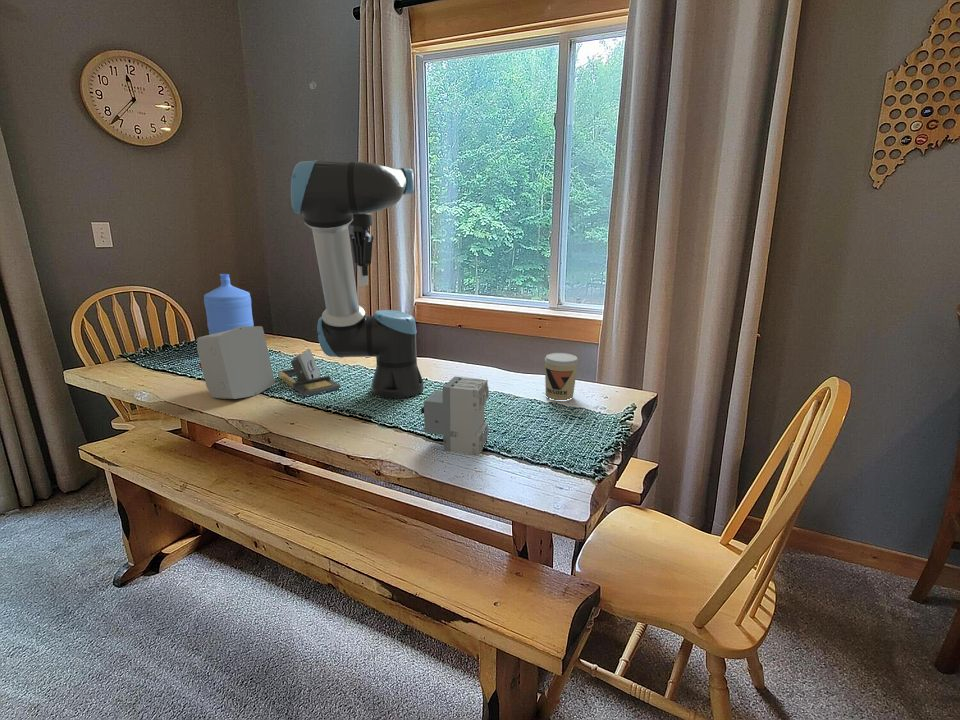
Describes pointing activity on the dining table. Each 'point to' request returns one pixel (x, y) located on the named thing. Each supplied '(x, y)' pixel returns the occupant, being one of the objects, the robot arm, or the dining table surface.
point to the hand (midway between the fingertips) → (364, 285)
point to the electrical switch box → (235, 362)
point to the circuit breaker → (458, 414)
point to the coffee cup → (560, 375)
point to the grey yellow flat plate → (308, 383)
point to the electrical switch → (305, 366)
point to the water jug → (227, 307)
